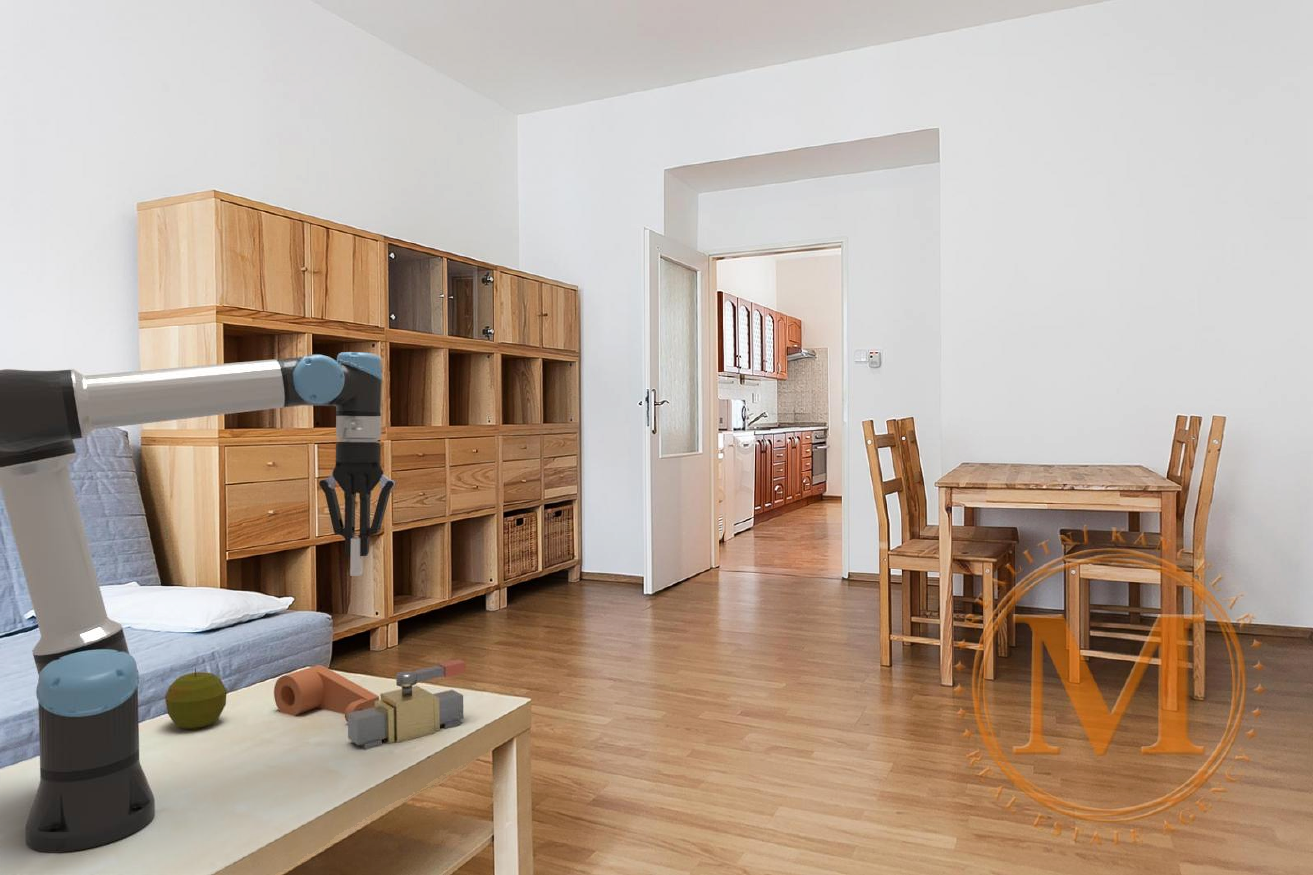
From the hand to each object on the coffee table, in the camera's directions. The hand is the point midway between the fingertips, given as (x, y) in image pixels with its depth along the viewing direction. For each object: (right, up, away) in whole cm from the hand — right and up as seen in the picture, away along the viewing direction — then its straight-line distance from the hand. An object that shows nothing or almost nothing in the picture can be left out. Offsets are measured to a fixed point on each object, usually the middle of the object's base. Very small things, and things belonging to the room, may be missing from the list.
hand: (356, 574), depth 154 cm
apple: (-33, -30, +9) cm, 45 cm away
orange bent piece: (-11, -30, +15) cm, 35 cm away
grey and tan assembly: (+8, -29, +4) cm, 31 cm away
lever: (+11, -20, +7) cm, 24 cm away
